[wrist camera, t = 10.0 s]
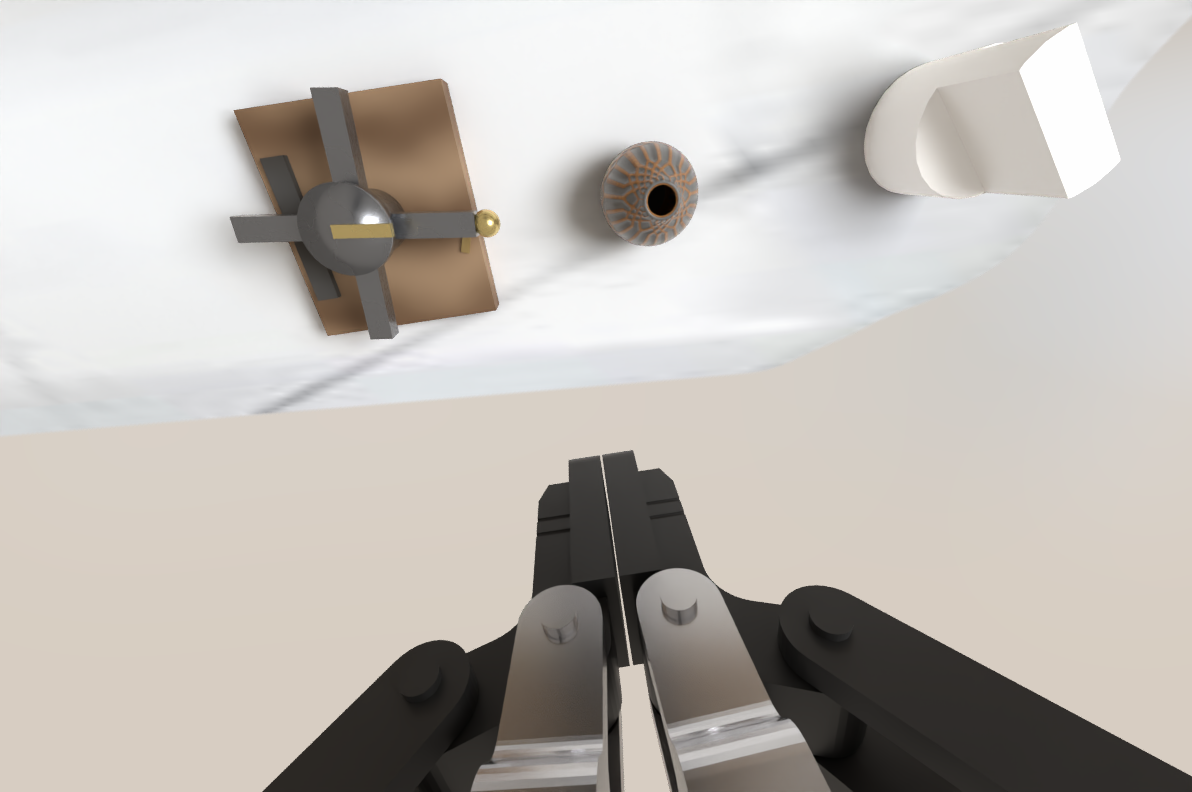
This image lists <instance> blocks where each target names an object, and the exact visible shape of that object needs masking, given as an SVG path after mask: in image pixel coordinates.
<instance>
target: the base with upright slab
mask: <svg viewBox="0 0 1192 792" xmlns="http://www.w3.org/2000/svg"><path fill="white" fill-rule="evenodd" d="M864 154H865V162H866V165H867V168H868V170H869V173H870V175H871V176H872V178H873V179H874V180H875V181H876V183H877V184H878V185H879V186H881V187H883V188H884V189H886V190H888V191H889V192H894V193H899V194H906V195H917V196H929V197H941V198H952V199H962V198H972V197H976V196H979V195H981V194H984V193H995V194H1011V195H1026V196H1041V197H1056V198H1071V197H1073V196H1075V195H1077V194H1079V193H1081V192H1082V191H1084V190H1085V189H1087V188H1089V187H1090V186H1092V185H1093V184H1095V183H1096V182H1098V181H1099V180H1100V179H1101V178H1102V177H1103V176H1104V175H1106V174H1107V173H1108V172H1109V171H1110V170H1111V169H1112V168H1114V167H1115V166H1116V164H1117V163H1118V162H1119V161H1120V156H1119V153H1118V150H1117V147H1116V144H1115V141H1114V137H1113V134H1112V131H1111V128H1110V125H1109V122H1108V119H1107V116H1106V112H1105V109H1104V106H1103V103H1102V100H1101V97H1100V94H1099V91H1098V88H1097V84H1096V81H1095V78H1094V75H1093V72H1092V69H1091V66H1090V63H1089V60H1088V56H1087V53H1086V50H1085V47H1084V44H1083V41H1082V38H1081V35H1080V32H1079V28H1078V25H1077V23H1074V24H1071V25H1067V26H1063V27H1060V28H1056V29H1053V30H1049V31H1045V32H1042V33H1038V34H1034V35H1031V36H1027V37H1024V38H1020V39H1016V40H1013V41H1009V42H1006V43H998V44H992V45H989V46H985V47H981V48H978V49H974V50H971V51H967V52H964V53H960V54H956V55H953V56H949V57H946V58H942V59H939V60H935V61H932V62H928V63H925V64H923V65H920V66H918V67H915V68H913V69H911V70H909V71H908V72H906V73H905V74H904V75H902V76H901V77H900V78H898V79H897V80H896V81H895V82H894V83H893V84H892V85H891V86H890V87H889V88H888V89H887V90H886V91H885V93H884V94H883V95H882V97H881V98H880V100H879V102H878V103H877V105H876V106H875V108H874V110H873V112H872V114H871V117H870V120H869V123H868V125H867V128H866V134H865V141H864Z"/></svg>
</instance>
